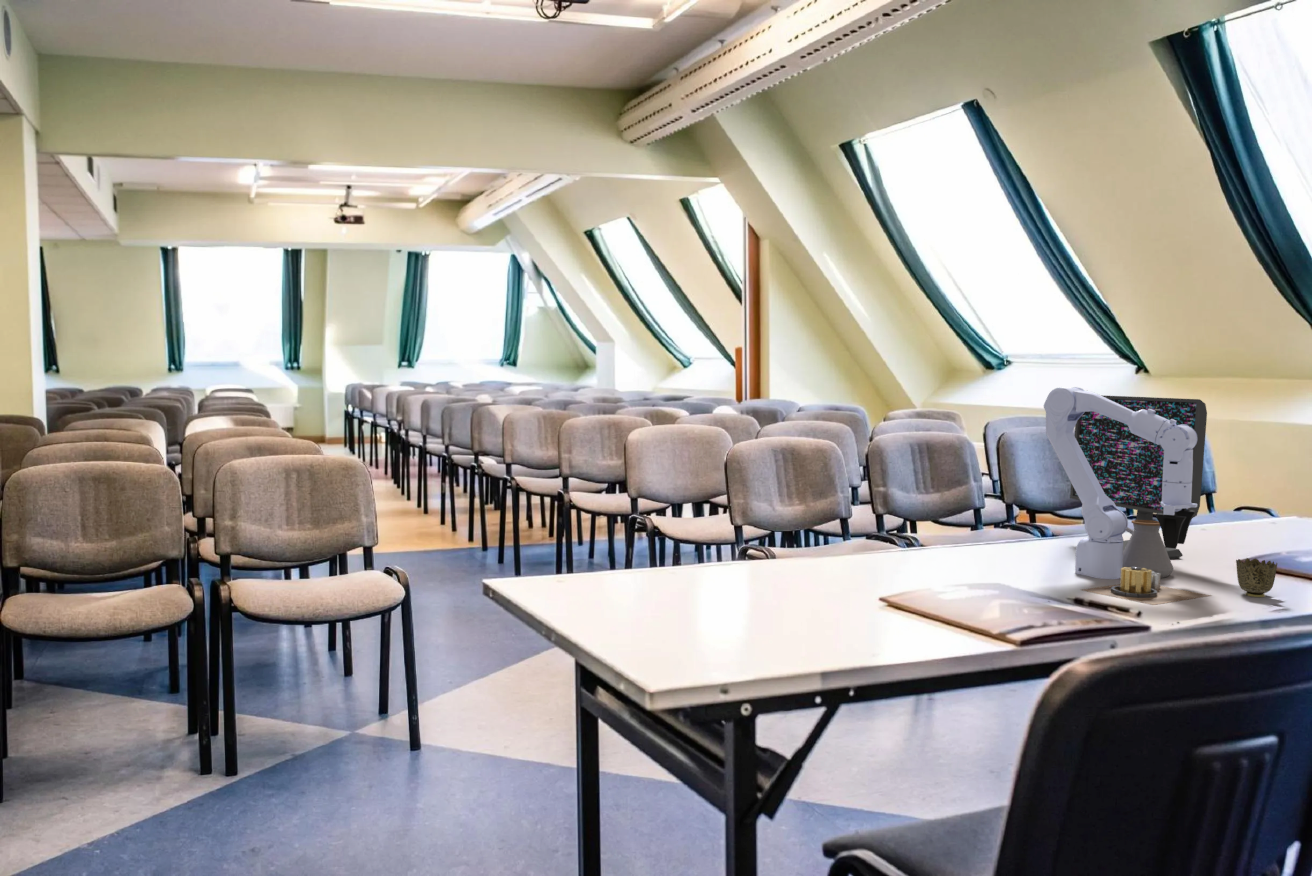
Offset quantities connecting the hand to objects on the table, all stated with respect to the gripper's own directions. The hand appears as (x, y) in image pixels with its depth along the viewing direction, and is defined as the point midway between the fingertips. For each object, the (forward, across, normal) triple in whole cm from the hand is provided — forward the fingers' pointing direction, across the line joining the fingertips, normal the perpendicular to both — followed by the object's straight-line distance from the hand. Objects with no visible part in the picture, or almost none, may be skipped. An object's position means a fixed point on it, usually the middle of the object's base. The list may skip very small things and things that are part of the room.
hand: (1174, 545), depth 241 cm
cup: (+10, -1, -16) cm, 19 cm away
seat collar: (+8, -16, +4) cm, 18 cm away
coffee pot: (+10, +12, +12) cm, 20 cm away
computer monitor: (+10, +44, +19) cm, 48 cm away
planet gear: (+8, -16, +4) cm, 18 cm away
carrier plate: (+9, -13, +3) cm, 16 cm away
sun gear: (+8, -7, +5) cm, 12 cm away
